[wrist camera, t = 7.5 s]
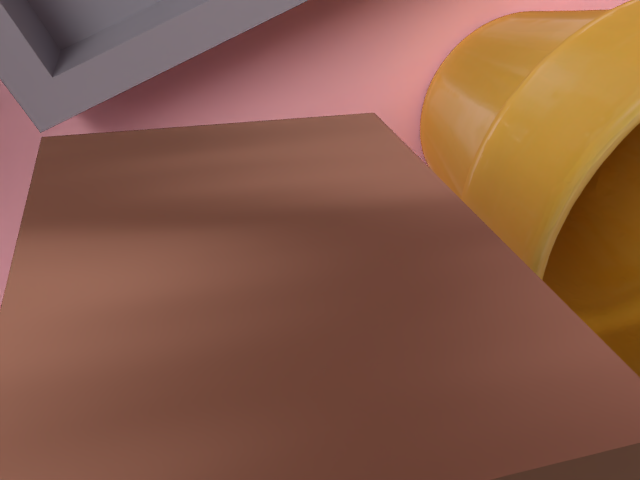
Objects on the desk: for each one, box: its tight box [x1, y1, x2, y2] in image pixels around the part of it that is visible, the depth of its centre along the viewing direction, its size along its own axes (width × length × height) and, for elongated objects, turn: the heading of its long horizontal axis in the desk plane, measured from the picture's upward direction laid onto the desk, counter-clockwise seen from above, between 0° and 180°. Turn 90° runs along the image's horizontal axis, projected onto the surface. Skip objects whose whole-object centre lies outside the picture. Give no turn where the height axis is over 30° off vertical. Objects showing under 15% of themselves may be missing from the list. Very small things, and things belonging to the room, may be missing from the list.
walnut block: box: [0, 113, 640, 480], centre depth 7 cm, size 4×4×6 cm
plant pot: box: [420, 0, 640, 377], centre depth 18 cm, size 10×10×10 cm
